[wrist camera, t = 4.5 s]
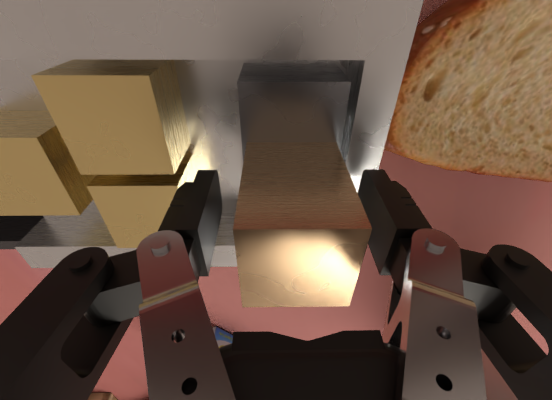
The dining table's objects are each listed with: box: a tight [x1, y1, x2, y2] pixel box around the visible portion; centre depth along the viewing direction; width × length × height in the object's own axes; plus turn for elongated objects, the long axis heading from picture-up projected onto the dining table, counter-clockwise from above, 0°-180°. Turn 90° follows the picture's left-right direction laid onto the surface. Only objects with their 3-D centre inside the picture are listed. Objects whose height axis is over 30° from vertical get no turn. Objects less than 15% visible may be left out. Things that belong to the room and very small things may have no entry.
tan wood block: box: [31, 59, 190, 175], centre depth 12 cm, size 4×4×3 cm
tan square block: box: [0, 111, 96, 216], centre depth 13 cm, size 4×4×3 cm
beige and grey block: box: [233, 63, 372, 307], centre depth 11 cm, size 4×8×8 cm, turn 0°
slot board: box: [0, 0, 424, 268], centre depth 14 cm, size 30×13×4 cm, turn 90°
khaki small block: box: [87, 154, 197, 248], centre depth 15 cm, size 4×4×3 cm
